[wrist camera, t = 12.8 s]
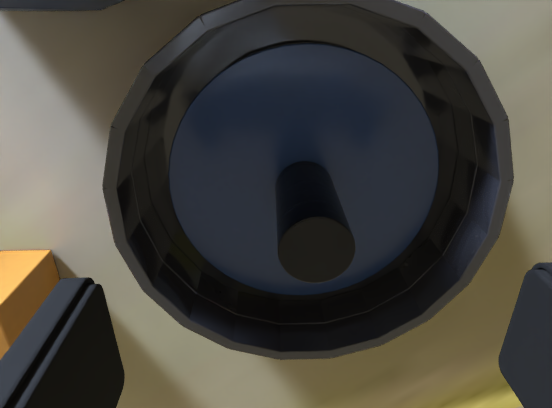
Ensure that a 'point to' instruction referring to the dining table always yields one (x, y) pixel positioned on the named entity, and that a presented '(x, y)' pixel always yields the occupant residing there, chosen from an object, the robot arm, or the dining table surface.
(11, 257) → the block
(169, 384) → the dining table surface
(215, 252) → the lid
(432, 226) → the pan
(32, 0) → the pot
